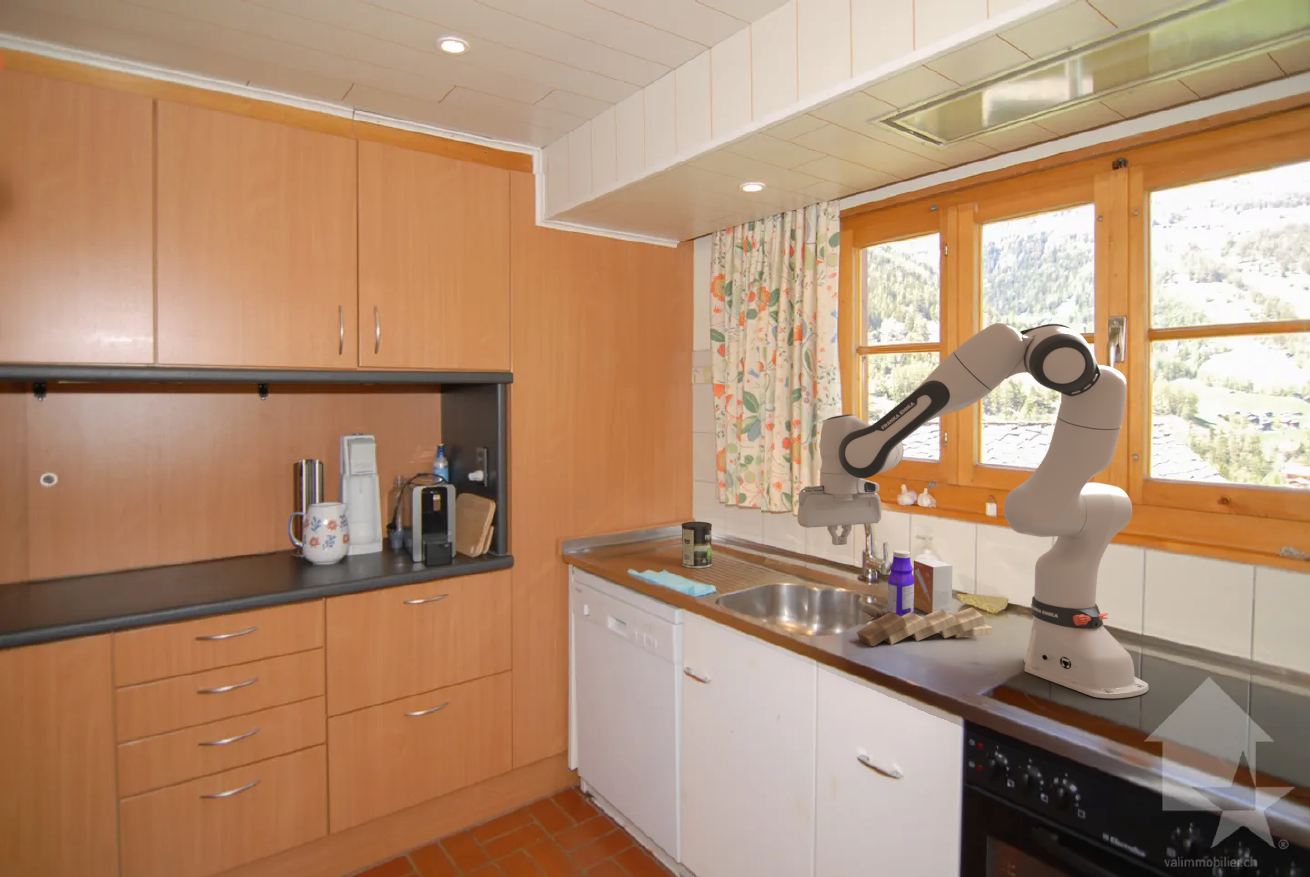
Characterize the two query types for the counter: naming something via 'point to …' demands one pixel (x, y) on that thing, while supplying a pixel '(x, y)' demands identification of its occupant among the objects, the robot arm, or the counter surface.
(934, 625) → the domino
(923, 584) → the small box
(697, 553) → the coffee can
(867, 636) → the domino
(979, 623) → the domino
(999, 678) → the counter surface
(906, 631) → the domino
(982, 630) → the domino
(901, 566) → the bottle
